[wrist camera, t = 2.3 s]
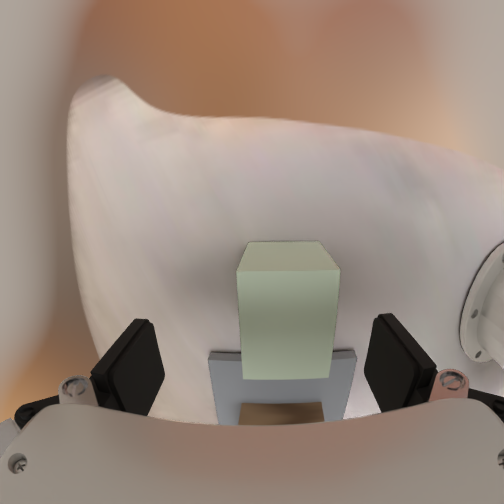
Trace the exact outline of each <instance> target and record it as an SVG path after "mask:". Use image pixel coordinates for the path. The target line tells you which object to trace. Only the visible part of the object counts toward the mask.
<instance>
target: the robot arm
mask: <svg viewBox="0 0 504 504" xmlns="http://www.w3.org/2000/svg"><path fill="white" fill-rule="evenodd" d="M460 340H461V346H462V348H463V350H464V352H465V353H466V354H467V355H468V357H469V358H470V359H471V360H473V361H474V362H479V363H482V362H488V361H491V360H493V359H494V360H495V361H496V362H497V363H498V364H499V365H500V366H501V367H502V368H503V369H504V243H502V244H501V245H500V246H498V247H497V248H496V249H495V250H494V251H493V252H492V253H491V255H490V256H489V257H488V259H487V260H486V261H485V263H484V264H483V266H482V268H481V269H480V271H479V273H478V274H477V276H476V278H475V280H474V283H473V285H472V287H471V289H470V292H469V294H468V297H467V300H466V303H465V306H464V310H463V313H462V319H461V325H460ZM91 374H92V376H91V377H90V378H87V377H85V376H81V375H77V376H72V377H69V378H67V379H65V380H64V381H63V382H62V383H61V384H60V386H59V390H58V391H59V395H57V396H53V397H50V398H46V399H42V400H39V401H35V402H32V403H28V404H25V405H22V406H21V407H20V408H19V409H18V410H17V411H16V413H15V417H14V419H15V420H12V419H11V418H9V419H7V420H5V421H3V422H1V423H0V504H504V397H501V396H497V395H493V394H489V393H485V392H481V391H477V390H474V389H470V388H469V380H468V378H467V377H466V376H465V375H464V374H463V373H462V372H460V371H458V370H455V369H444V370H442V371H440V372H438V371H437V370H436V364H435V363H434V362H433V361H432V360H431V358H430V357H429V356H428V355H427V353H426V352H425V351H424V350H423V349H422V347H421V346H420V345H419V344H418V343H417V341H416V340H415V339H414V338H413V337H412V336H411V334H410V333H409V332H408V331H407V330H406V329H405V328H404V326H403V325H402V324H401V323H400V322H399V321H398V320H397V318H396V317H395V316H394V315H393V314H392V313H387V314H379V315H378V317H377V318H375V319H374V322H373V327H372V333H371V338H370V343H369V348H368V353H367V358H366V362H365V366H364V375H365V377H366V379H367V381H368V384H369V386H370V388H371V390H372V392H373V394H374V397H375V399H376V401H377V403H378V406H379V408H380V410H381V412H382V413H378V414H372V415H367V416H361V417H355V418H349V419H342V420H334V421H326V422H316V423H305V424H290V425H221V424H205V423H194V422H184V421H176V420H168V419H161V418H155V417H149V416H147V415H148V413H149V411H150V409H151V406H152V404H153V402H154V400H155V398H156V396H157V393H158V391H159V389H160V387H161V385H162V383H163V380H164V377H165V372H164V368H163V364H162V360H161V356H160V352H159V348H158V343H157V339H156V335H155V330H154V326H153V324H152V323H150V322H149V320H148V319H134V320H133V322H132V323H131V324H130V325H129V326H128V327H127V329H126V330H125V331H124V332H123V333H122V334H121V336H120V337H119V338H118V339H117V340H116V342H115V343H114V344H113V345H112V346H111V348H110V349H109V350H108V351H107V352H106V354H105V355H104V356H103V357H102V358H101V360H100V361H99V362H98V363H97V365H96V366H95V367H94V368H93V369H92V371H91Z"/></svg>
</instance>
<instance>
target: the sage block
mask: <svg viewBox="0 0 504 504" xmlns="http://www.w3.org/2000/svg"><path fill="white" fill-rule="evenodd" d="M236 276H237V294H238V311H239V327H240V342H241V357H242V371H243V379H252V380H290V379H316V378H329V372H330V366H331V359H332V352H333V344H334V336H335V328H336V318H337V308H338V297H339V285H340V268H339V267H338V266H337V264H336V263H335V262H334V260H333V259H332V258H331V256H330V255H329V254H328V252H327V251H326V250H325V248H324V247H323V246H322V244H321V243H320V242H319V241H286V242H249V243H248V245H247V247H246V250H245V252H244V254H243V257H242V259H241V261H240V264H239V266H238V269H237V271H236Z"/></svg>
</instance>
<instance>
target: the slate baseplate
mask: <svg viewBox="0 0 504 504" xmlns="http://www.w3.org/2000/svg"><path fill="white" fill-rule="evenodd" d="M356 361H357V356H356V354H355V351H354V350H353V351H340V352H332V359H331V366H330V372H329V378H316V379H290V380H252V379H243V371H242V357H241V354H233V353H212V352H211V353H210V356H209V358H208V364H209V370H210V376H211V383H212V389H213V395H214V400H215V406H216V411H217V417H218V422H219V424H221V425H238V422H239V416H240V410H241V404H242V403H264V404H282V403H311V402H322V408H323V414H324V420H325V422H326V421H334V420H342V419H343V416H344V412H345V408H346V405H347V401H348V397H349V393H350V388H351V384H352V380H353V375H354V371H355V366H356Z"/></svg>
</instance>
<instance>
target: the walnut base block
mask: <svg viewBox="0 0 504 504" xmlns="http://www.w3.org/2000/svg"><path fill="white" fill-rule="evenodd" d="M316 422H325V420H324V414H323V408H322V402H311V403H282V404H264V403H242V404H241V410H240V416H239V422H238V425H290V424H305V423H316Z"/></svg>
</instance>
